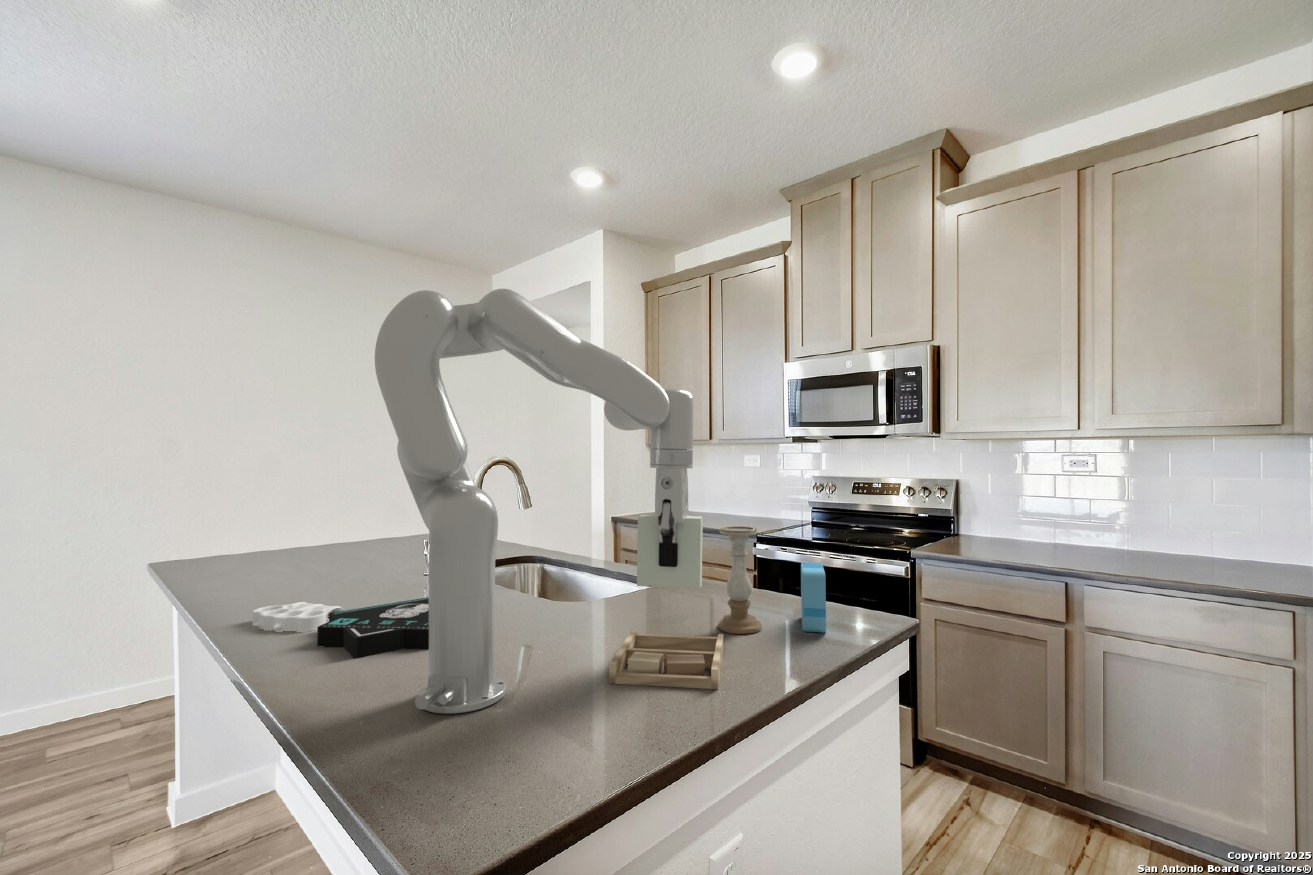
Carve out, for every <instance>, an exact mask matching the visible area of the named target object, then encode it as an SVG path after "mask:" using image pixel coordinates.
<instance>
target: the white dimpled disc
mask: <svg viewBox="0 0 1313 875" xmlns="http://www.w3.org/2000/svg"><path fill="white" fill-rule="evenodd" d="M340 611H346V610H345V608H343V607H342V606H339V605H333V606H332V605H325V604H322V603H309V602H306V601H301V602H299V601H298V602H293V603H290V604H281V605H280V604H279V605H278V604H277V605H269V606H268V605H267V606H262V607H258V608H256V609H254V610H252V626H253V627H258V628H259V629H260V630H261V629H268V630H267V631H271V630H274V631H278V632H277V633H284V632H283V631H291V630H292V631H299V632H305V631H311V630H316V629H317V627H318V626H320V625H323V624H325V623H327V622H326V621H329V618H327V616H329V613H334V612H340ZM270 629H271V630H270ZM274 631H273V632H274ZM299 632H298V633H299ZM305 633H306V632H305Z"/></svg>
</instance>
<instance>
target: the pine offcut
mask: <svg viewBox="0 0 1313 875" xmlns="http://www.w3.org/2000/svg"><path fill="white" fill-rule="evenodd" d="M664 671H665V666H664V654H658V653H645V652H634V653H633V654H632V655H631V657H630V658H629V659H628V665H627V672H631V673H650V674H663V673H664ZM662 672H663V673H662Z"/></svg>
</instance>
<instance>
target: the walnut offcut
mask: <svg viewBox="0 0 1313 875" xmlns="http://www.w3.org/2000/svg"><path fill="white" fill-rule="evenodd" d="M666 674H670V675H689V676H706V668H705V661H704V656H703V655H667V666H666Z"/></svg>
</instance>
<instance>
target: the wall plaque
mask: <svg viewBox="0 0 1313 875" xmlns="http://www.w3.org/2000/svg"><path fill="white" fill-rule="evenodd" d="M328 619H329V622H326V623H325V624H323V625H320V626H318V627H317V633H316V634H317V635H316V637H317V642H316V644H317V646H324V647H323V648H341V647H342V648H344V650H345V651H346V652H347V653H348V655H349V654H350V656H351V657H352V658H353V659H361V658H366V657H372V656H375V655H380V654H386V653H389V652H390V653H391V652H394V651H399V650H426V651H427V650H428V651H429V596H427V597H421V598H416V599H411V600H404V601H396V602H393V603H392V602H391V603H385V604H379V605H372V606H365V607H361V608H360V607H359V608H352V609H348V610H345V611H340V612H334V613H329V618H328ZM317 646H316V647H317Z"/></svg>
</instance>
